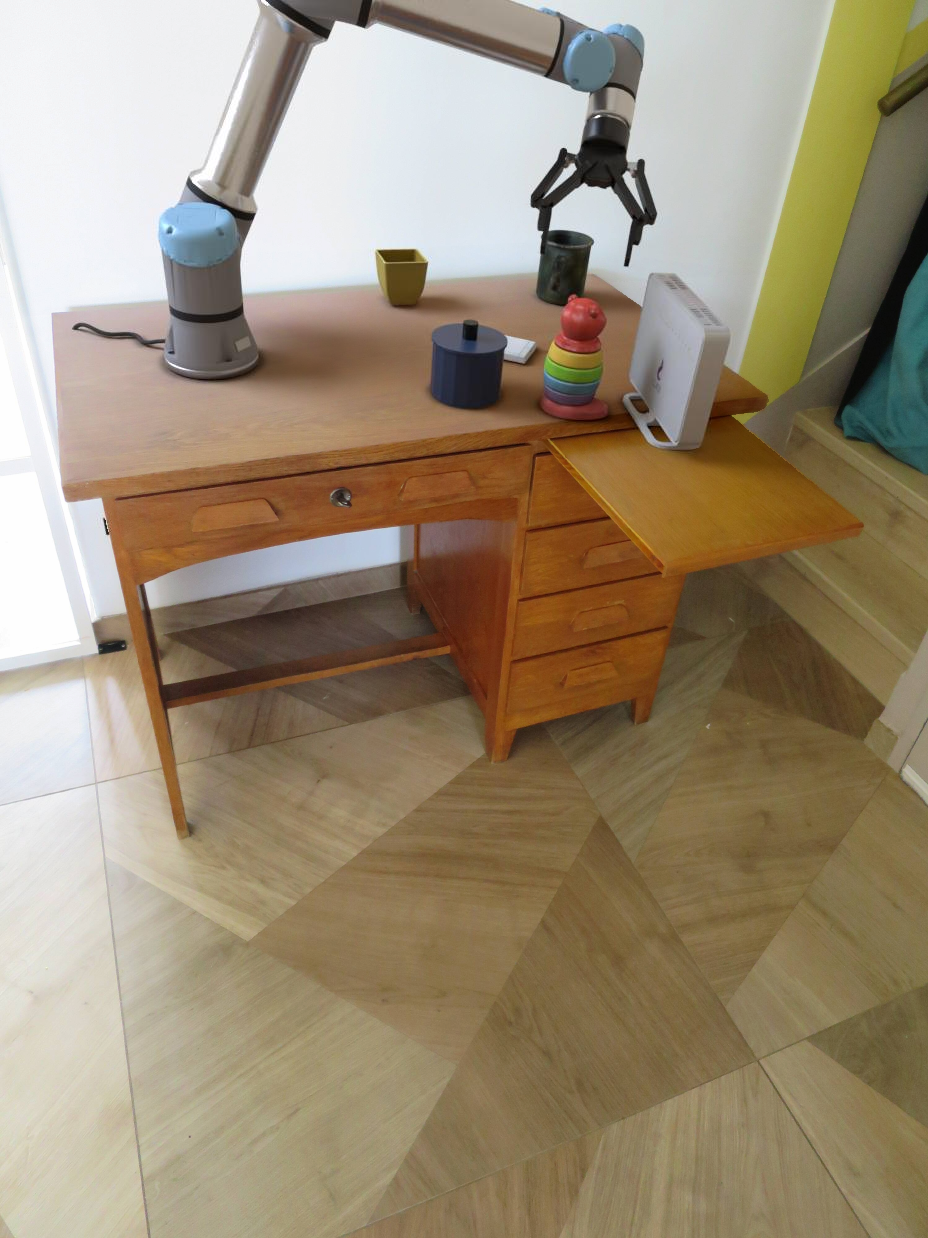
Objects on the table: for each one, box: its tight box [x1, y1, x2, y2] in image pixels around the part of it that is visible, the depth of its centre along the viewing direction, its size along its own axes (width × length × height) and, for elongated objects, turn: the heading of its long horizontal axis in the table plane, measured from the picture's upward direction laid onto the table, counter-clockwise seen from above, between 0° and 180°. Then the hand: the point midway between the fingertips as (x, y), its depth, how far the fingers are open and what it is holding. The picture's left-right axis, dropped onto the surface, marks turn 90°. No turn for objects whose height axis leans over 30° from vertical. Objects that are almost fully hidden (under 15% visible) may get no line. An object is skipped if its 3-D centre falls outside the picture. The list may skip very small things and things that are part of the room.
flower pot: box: [374, 248, 429, 306], centre depth 174 cm, size 9×9×9 cm
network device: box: [622, 272, 731, 451], centre depth 137 cm, size 26×9×20 cm, turn 9°
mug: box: [535, 229, 595, 306], centre depth 180 cm, size 11×15×12 cm
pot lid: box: [430, 318, 508, 356], centre depth 139 cm, size 12×12×4 cm
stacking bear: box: [539, 294, 609, 421], centre depth 139 cm, size 11×10×18 cm
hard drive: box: [504, 334, 537, 364], centre depth 160 cm, size 2×8×12 cm
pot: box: [429, 342, 505, 410], centre depth 143 cm, size 11×11×9 cm
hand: (584, 256), depth 140 cm, fingers open, 13 cm apart
